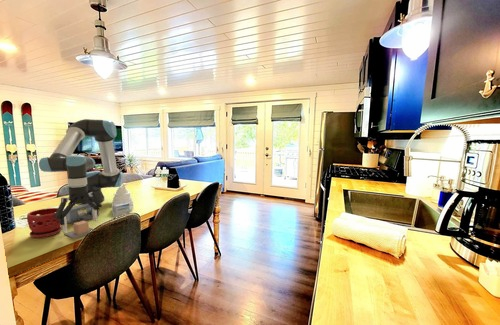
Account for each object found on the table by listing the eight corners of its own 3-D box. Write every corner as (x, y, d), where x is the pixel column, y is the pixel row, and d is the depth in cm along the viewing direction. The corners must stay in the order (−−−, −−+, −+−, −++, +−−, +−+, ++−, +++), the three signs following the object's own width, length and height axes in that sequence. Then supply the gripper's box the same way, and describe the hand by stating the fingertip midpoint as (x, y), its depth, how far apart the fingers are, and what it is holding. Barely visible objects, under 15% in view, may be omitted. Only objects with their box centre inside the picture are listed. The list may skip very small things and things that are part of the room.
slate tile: (86, 227, 116) (86, 226, 116) (97, 231, 111) (97, 230, 111) (64, 234, 107) (64, 233, 107) (75, 239, 102) (75, 237, 102)
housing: (94, 214, 135) (93, 202, 134) (98, 215, 133) (98, 203, 132) (65, 222, 122) (64, 208, 121) (70, 223, 120) (69, 210, 119)
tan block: (84, 229, 112) (83, 220, 111) (88, 231, 110) (88, 222, 109) (74, 232, 108) (73, 223, 107) (78, 234, 106) (78, 225, 105)
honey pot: (127, 205, 154) (126, 181, 152) (137, 208, 148) (136, 183, 146) (108, 210, 143) (106, 184, 141) (118, 214, 137) (116, 187, 135)
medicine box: (116, 220, 126) (116, 206, 125) (113, 219, 128) (112, 205, 127) (130, 216, 133) (129, 203, 132) (126, 215, 135) (125, 202, 134)
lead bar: (84, 216, 132) (84, 212, 131) (91, 220, 126) (91, 215, 126) (76, 218, 128) (76, 213, 128) (83, 222, 123) (83, 217, 123)
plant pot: (50, 239, 101) (48, 215, 100) (20, 239, 100) (18, 215, 99) (70, 228, 114) (69, 206, 113) (45, 228, 113) (43, 206, 112)
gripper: (99, 180, 119) (102, 216, 122) (42, 190, 97) (46, 233, 99) (108, 182, 116) (110, 218, 118) (50, 192, 93) (54, 237, 96)
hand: (80, 225), depth 109 cm, fingers open, 13 cm apart
